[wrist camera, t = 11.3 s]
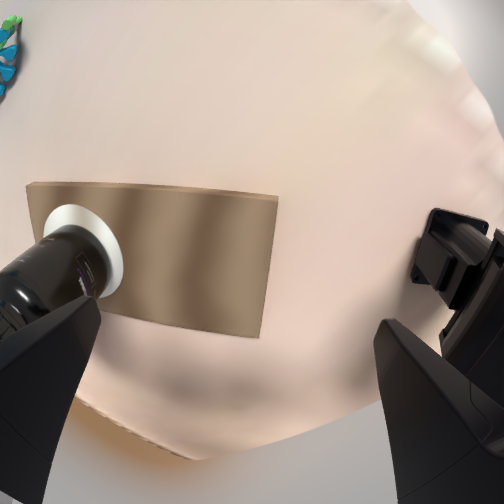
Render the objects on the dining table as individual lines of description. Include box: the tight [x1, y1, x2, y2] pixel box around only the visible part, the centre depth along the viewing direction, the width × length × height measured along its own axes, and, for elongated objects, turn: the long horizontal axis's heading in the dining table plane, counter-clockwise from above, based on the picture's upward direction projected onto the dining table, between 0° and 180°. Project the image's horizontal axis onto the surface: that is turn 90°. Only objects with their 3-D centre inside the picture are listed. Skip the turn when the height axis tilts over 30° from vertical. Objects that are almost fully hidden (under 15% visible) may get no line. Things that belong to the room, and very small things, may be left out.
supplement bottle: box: [0, 224, 111, 340], centre depth 16 cm, size 7×7×12 cm
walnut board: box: [26, 182, 278, 338], centre depth 22 cm, size 22×12×1 cm, turn 85°
